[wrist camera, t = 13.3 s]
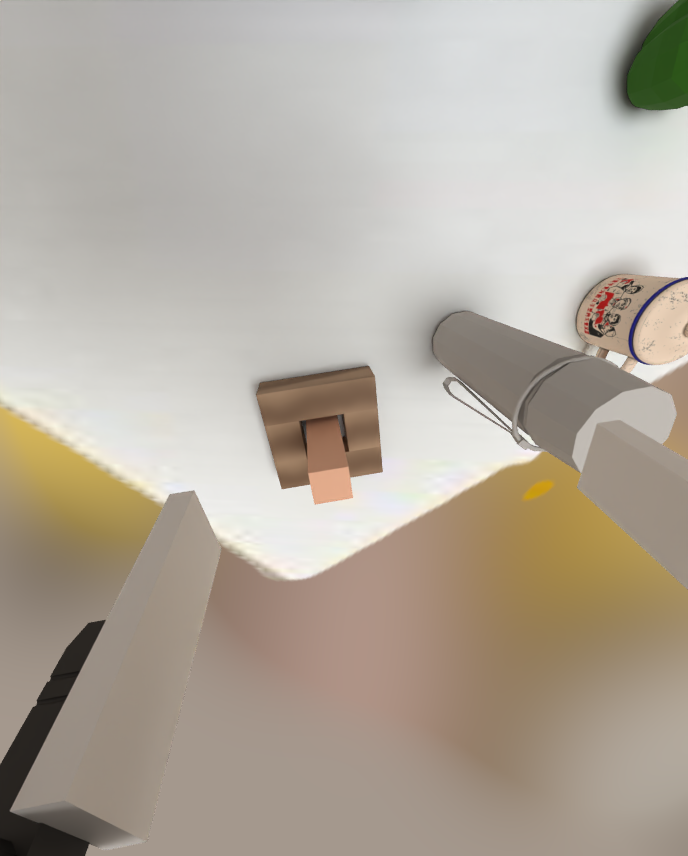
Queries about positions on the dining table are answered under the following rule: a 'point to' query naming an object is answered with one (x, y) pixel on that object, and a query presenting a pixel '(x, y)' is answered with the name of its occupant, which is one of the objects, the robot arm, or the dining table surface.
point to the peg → (327, 461)
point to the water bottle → (547, 386)
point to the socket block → (316, 399)
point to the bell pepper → (662, 64)
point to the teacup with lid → (637, 318)
